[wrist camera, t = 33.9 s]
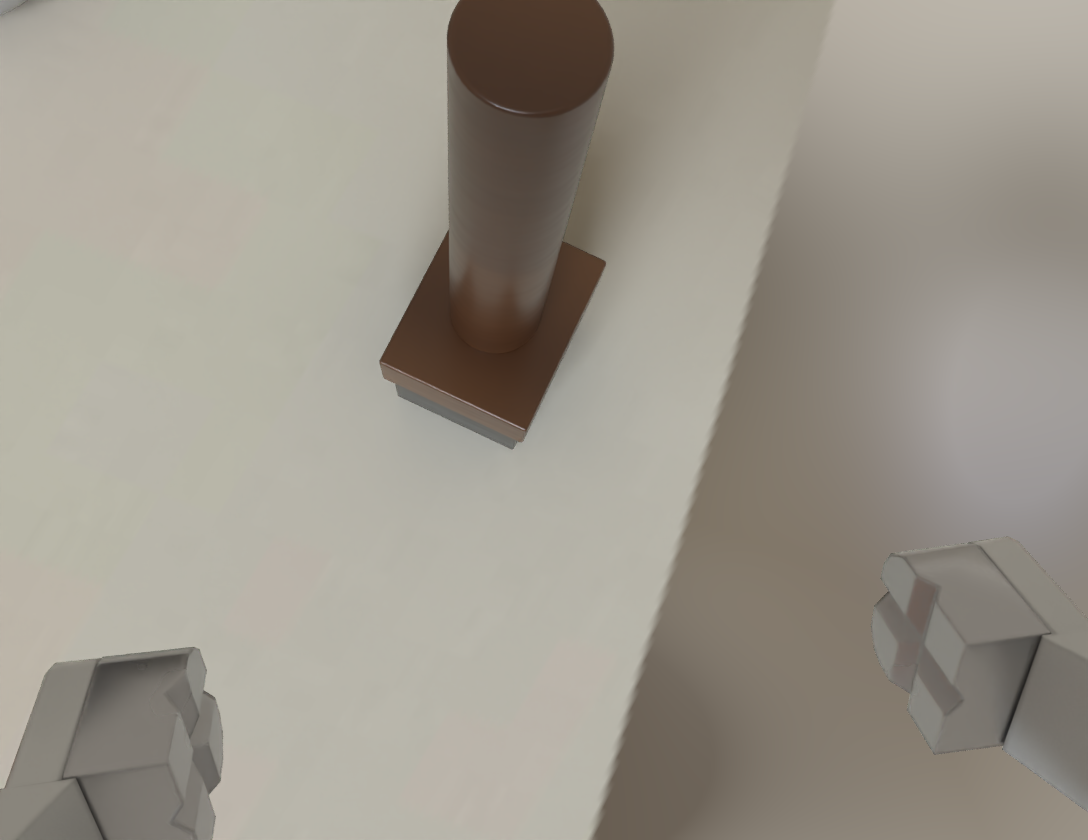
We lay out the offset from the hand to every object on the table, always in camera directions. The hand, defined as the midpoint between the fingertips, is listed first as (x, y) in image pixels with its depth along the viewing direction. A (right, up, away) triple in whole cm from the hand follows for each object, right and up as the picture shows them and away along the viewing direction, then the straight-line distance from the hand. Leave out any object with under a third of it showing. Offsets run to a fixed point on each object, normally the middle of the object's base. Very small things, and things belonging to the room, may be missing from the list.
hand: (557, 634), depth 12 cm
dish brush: (-2, +5, +18) cm, 18 cm away
